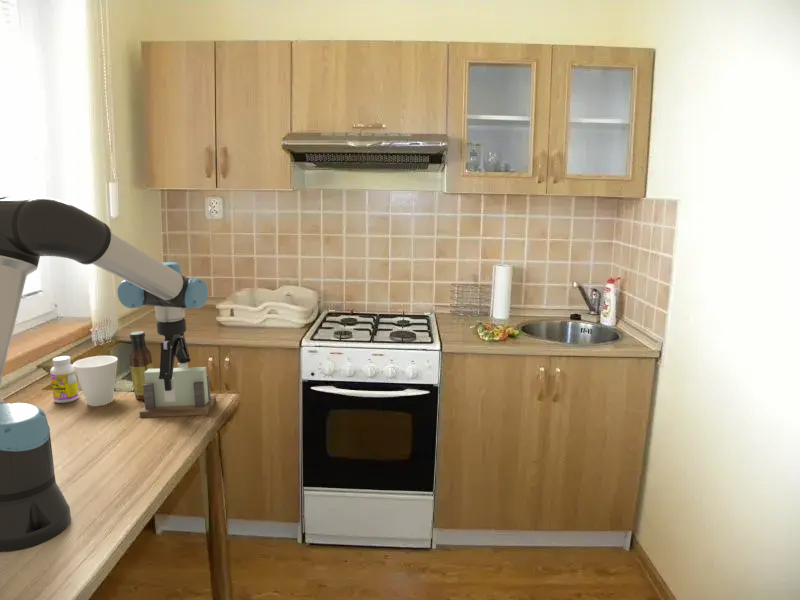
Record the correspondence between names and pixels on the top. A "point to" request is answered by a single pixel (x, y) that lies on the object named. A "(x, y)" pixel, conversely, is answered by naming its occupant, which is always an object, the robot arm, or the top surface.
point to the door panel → (178, 385)
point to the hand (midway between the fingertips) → (177, 392)
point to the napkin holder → (196, 409)
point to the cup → (97, 378)
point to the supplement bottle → (63, 380)
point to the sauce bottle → (139, 362)
